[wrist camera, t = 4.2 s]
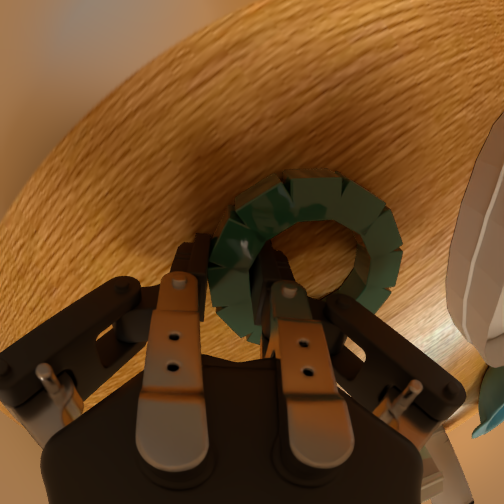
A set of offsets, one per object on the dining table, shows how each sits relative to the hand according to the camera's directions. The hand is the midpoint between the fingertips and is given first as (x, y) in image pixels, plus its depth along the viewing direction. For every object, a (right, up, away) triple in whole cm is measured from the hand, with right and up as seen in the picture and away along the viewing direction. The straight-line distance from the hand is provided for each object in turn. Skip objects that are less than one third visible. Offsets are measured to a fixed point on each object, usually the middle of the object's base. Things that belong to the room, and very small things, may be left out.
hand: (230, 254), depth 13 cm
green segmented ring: (+4, 0, +1) cm, 4 cm away
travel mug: (+30, -30, +19) cm, 46 cm away
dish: (+24, +2, +1) cm, 24 cm away
